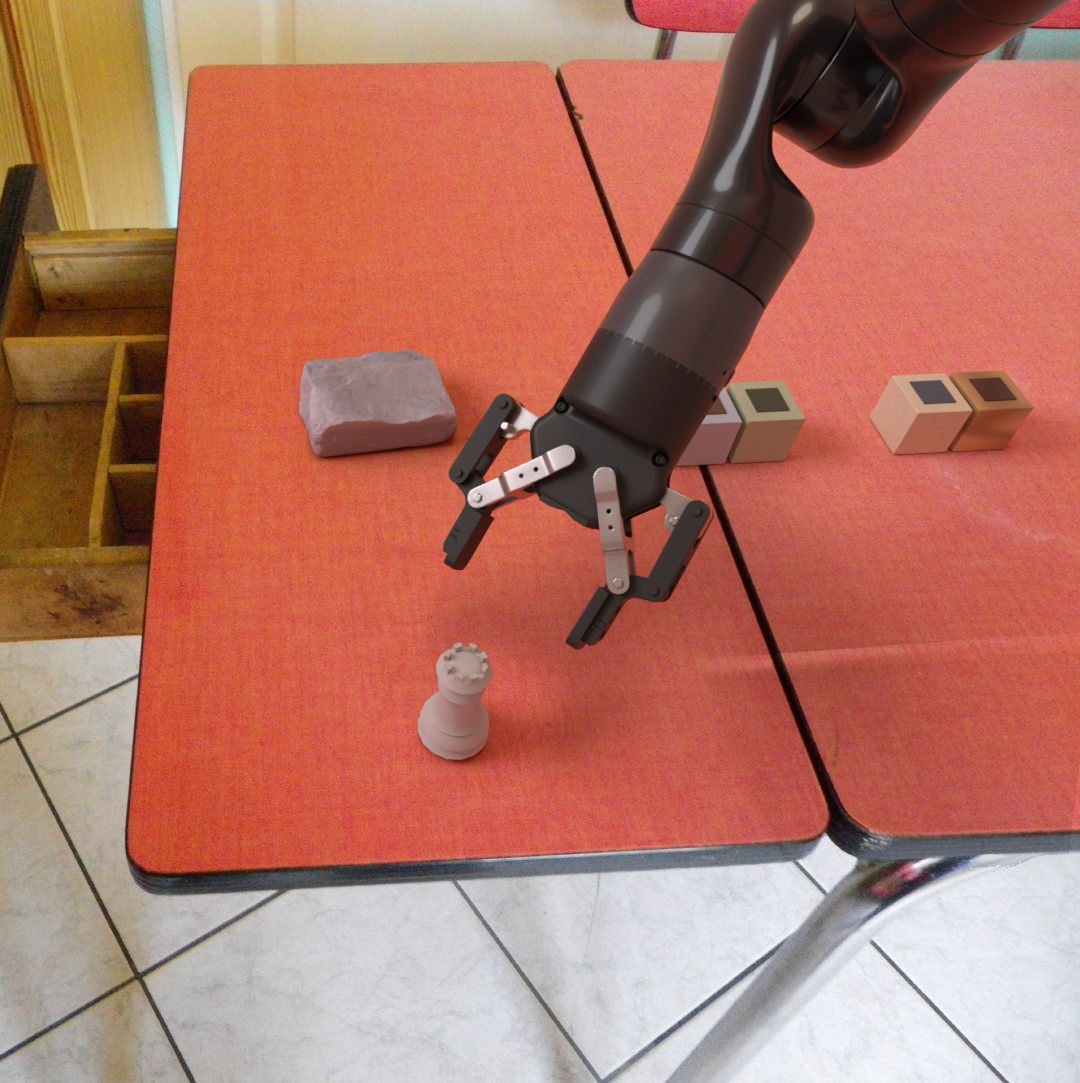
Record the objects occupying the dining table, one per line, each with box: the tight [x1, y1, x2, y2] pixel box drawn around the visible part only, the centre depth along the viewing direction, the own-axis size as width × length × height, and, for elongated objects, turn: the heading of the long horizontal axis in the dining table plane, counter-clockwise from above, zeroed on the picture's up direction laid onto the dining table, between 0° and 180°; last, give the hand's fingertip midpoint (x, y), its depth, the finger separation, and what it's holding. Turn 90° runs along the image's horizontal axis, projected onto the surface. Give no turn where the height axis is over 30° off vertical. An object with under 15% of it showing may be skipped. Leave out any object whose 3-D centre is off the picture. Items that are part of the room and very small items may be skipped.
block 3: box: [869, 372, 973, 456], centre depth 79 cm, size 4×4×5 cm
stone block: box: [298, 349, 458, 458], centre depth 80 cm, size 12×5×10 cm
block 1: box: [675, 387, 742, 467], centre depth 78 cm, size 4×4×5 cm
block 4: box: [948, 369, 1034, 452], centre depth 80 cm, size 4×4×5 cm
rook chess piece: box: [417, 642, 494, 761], centre depth 59 cm, size 4×4×8 cm
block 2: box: [726, 380, 806, 464], centre depth 78 cm, size 4×4×5 cm
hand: (511, 605), depth 58 cm, fingers open, 8 cm apart
